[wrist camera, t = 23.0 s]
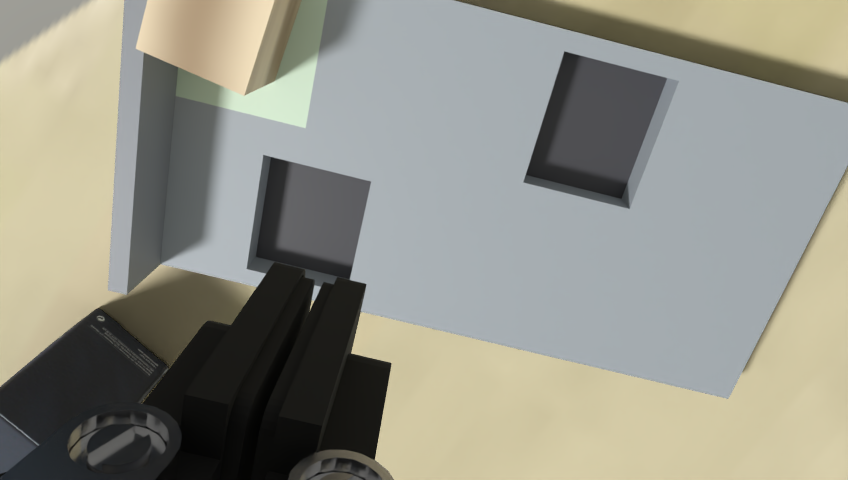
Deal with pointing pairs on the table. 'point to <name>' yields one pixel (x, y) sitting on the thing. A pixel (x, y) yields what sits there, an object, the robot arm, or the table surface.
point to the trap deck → (486, 183)
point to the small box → (73, 383)
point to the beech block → (220, 38)
